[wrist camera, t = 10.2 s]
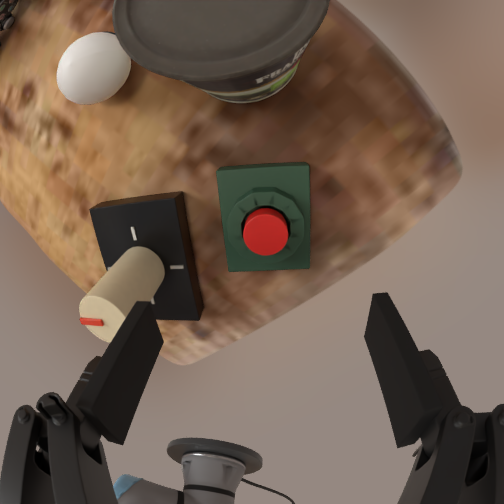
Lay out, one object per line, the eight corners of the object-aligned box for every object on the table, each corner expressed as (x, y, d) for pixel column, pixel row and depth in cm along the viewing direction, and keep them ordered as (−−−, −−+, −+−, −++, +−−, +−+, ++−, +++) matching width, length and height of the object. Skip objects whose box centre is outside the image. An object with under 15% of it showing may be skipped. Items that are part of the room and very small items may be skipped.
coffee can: (320, 37, 19) (366, -33, 6) (263, 122, 23) (256, 121, 11) (222, -6, 17) (184, -89, 5) (168, 76, 22) (78, 48, 9)
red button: (287, 246, 25) (288, 255, 23) (246, 247, 25) (245, 256, 23) (286, 206, 23) (287, 213, 21) (243, 208, 23) (241, 215, 22)
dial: (158, 244, 26) (116, 299, 18) (169, 287, 29) (137, 349, 20) (117, 247, 27) (68, 297, 19) (129, 288, 29) (91, 343, 21)
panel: (204, 307, 33) (199, 321, 30) (131, 306, 34) (123, 318, 31) (182, 191, 27) (174, 198, 24) (100, 202, 27) (88, 209, 25)
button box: (307, 258, 29) (312, 278, 25) (231, 261, 30) (226, 281, 26) (306, 161, 25) (312, 168, 21) (220, 166, 25) (211, 174, 22)
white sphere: (159, 62, 21) (123, 46, 14) (112, 118, 23) (68, 122, 17) (104, 19, 18) (64, 3, 11) (64, 71, 21) (20, 69, 14)
